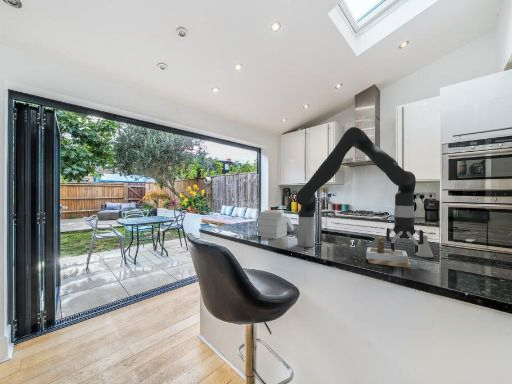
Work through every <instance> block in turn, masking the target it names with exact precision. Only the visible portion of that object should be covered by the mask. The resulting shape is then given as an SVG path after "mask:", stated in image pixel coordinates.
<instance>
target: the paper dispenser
mask: <svg viewBox="0 0 512 384" xmlns="http://www.w3.org/2000/svg"><path fill="white" fill-rule="evenodd" d="M257 217H258V219H257V220H258V229H257V230H258V236H261V237H260V238H264V237H267V238H266V239H272V238H273V239H274V240H278V238H279V239H281V238H284V237H286V235H288V231H289V232H293V231H294V230H295V226H294V225H293V223H292V222H291V219H290V218H289V217H288V216H287V214H285V210H284V209H263V210H261V211H259V215H258V216H257ZM283 236H284V237H283ZM273 239H272V240H273Z"/></svg>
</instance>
